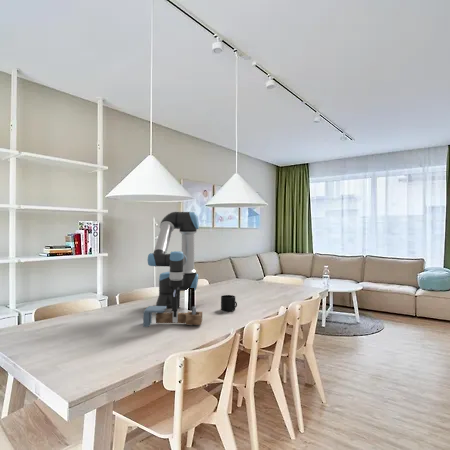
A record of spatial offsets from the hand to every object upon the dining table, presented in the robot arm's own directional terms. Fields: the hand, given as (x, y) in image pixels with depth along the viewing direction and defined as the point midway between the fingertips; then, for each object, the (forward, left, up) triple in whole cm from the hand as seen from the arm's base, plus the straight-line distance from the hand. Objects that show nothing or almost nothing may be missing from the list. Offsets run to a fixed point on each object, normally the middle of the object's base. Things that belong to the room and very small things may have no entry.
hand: (175, 321), depth 184 cm
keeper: (-9, -6, -2) cm, 11 cm away
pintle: (+9, +5, -2) cm, 10 cm away
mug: (+9, +44, -2) cm, 45 cm away
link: (+2, +1, 0) cm, 2 cm away
